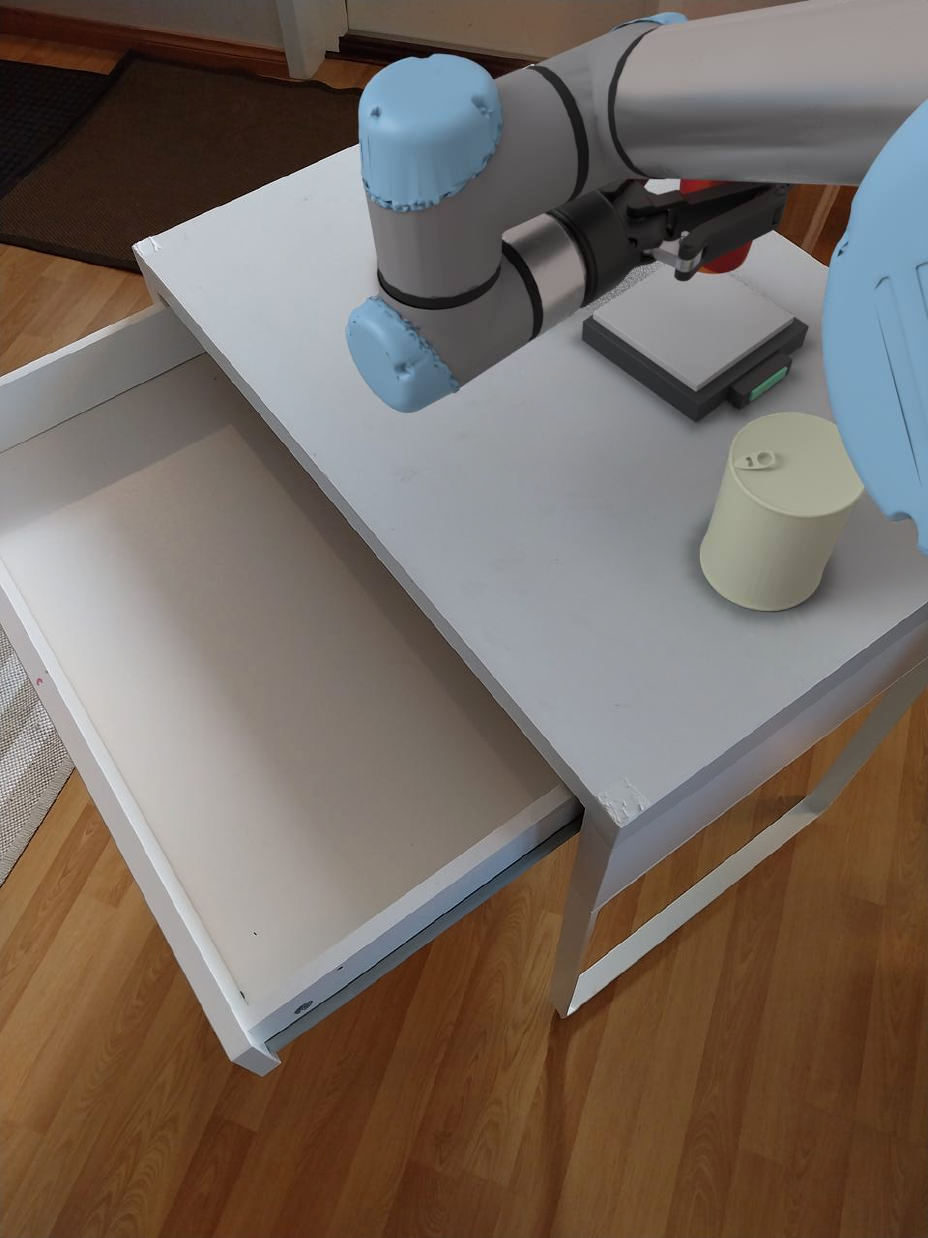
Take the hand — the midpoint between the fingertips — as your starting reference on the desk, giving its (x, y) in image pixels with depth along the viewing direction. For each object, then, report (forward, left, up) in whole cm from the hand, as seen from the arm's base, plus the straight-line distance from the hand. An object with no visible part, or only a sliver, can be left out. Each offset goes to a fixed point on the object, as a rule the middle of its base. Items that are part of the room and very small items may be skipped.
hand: (774, 125), depth 71 cm
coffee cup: (0, +5, -9) cm, 10 cm away
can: (-20, +19, -18) cm, 33 cm away
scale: (0, +5, -18) cm, 19 cm away
